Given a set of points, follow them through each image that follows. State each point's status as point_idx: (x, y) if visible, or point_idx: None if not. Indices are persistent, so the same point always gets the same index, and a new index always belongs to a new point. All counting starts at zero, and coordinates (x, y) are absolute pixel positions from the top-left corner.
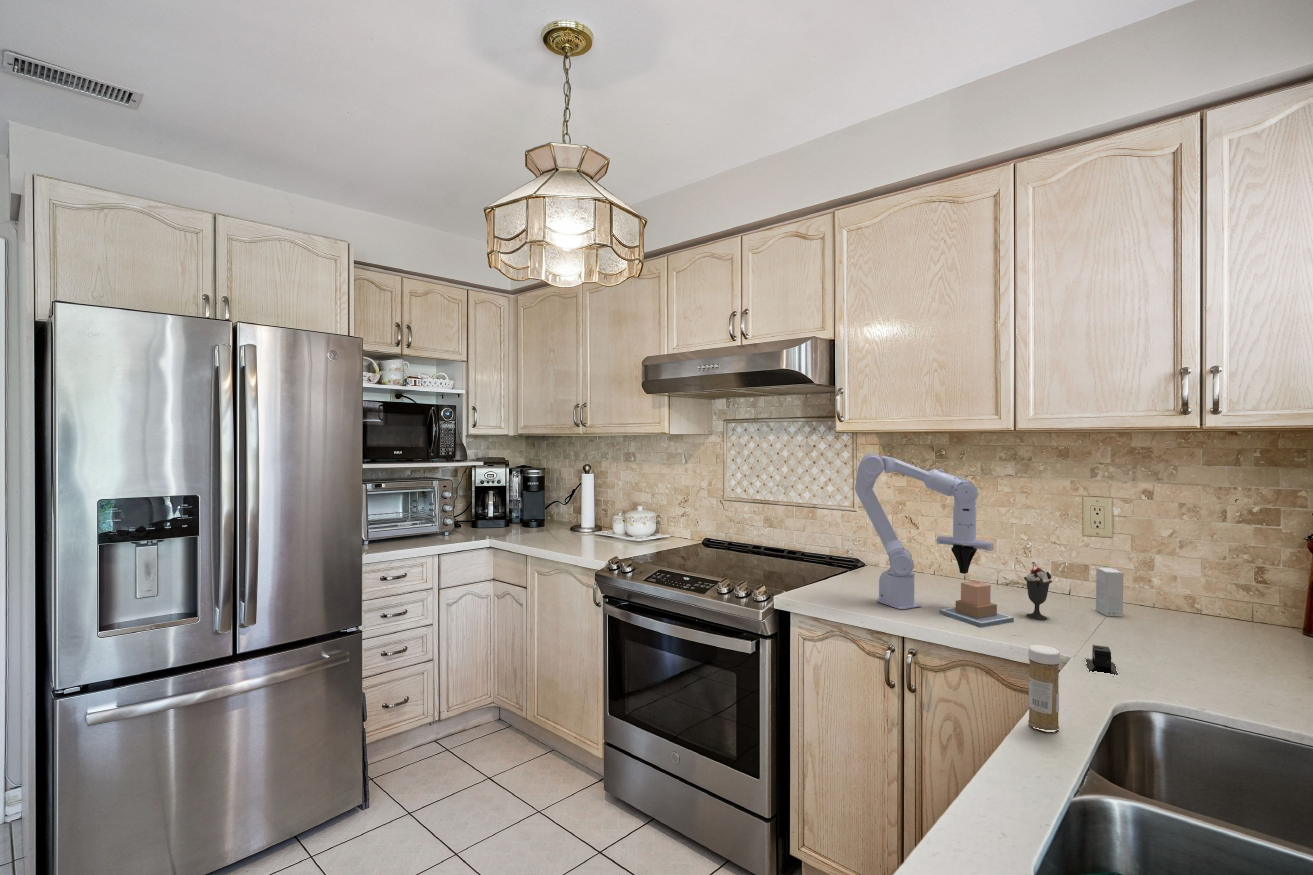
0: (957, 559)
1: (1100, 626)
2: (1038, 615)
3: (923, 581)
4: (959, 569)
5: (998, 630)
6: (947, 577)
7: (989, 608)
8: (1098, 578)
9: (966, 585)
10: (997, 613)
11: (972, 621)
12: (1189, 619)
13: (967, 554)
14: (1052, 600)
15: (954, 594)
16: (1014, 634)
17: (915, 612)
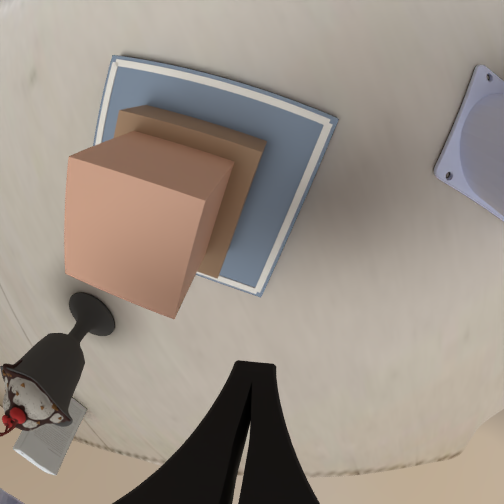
0: (282, 457)
1: (14, 317)
2: (78, 310)
3: (441, 427)
4: (273, 381)
5: (73, 77)
6: (390, 465)
7: None
8: (54, 453)
9: (157, 180)
10: None
11: (153, 61)
12: None
13: (140, 497)
14: (162, 436)
15: (358, 393)
16: (34, 85)
17: (422, 64)
